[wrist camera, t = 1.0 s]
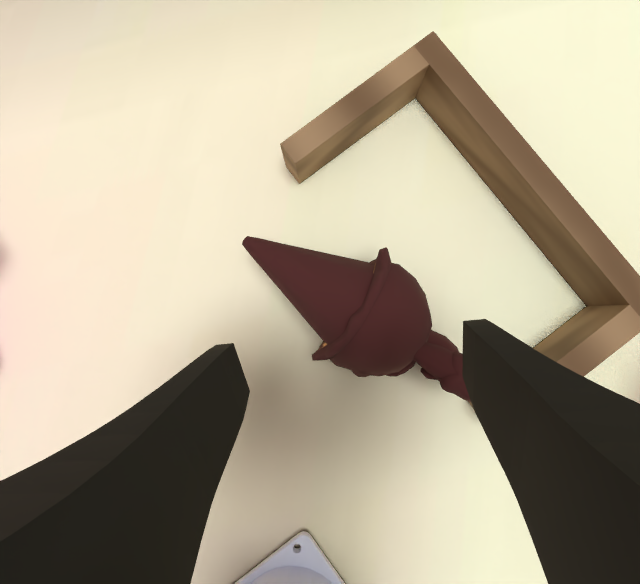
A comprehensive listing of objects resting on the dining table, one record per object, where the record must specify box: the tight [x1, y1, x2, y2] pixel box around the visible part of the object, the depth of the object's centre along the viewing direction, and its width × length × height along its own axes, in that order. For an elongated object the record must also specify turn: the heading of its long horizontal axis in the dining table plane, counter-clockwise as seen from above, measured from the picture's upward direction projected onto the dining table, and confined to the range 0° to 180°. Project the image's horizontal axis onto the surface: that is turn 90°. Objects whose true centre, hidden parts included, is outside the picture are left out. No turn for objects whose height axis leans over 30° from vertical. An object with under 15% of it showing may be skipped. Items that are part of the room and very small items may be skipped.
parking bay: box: [280, 31, 640, 407], centre depth 20 cm, size 12×21×3 cm, turn 37°
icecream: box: [242, 236, 471, 402], centre depth 18 cm, size 7×7×15 cm
